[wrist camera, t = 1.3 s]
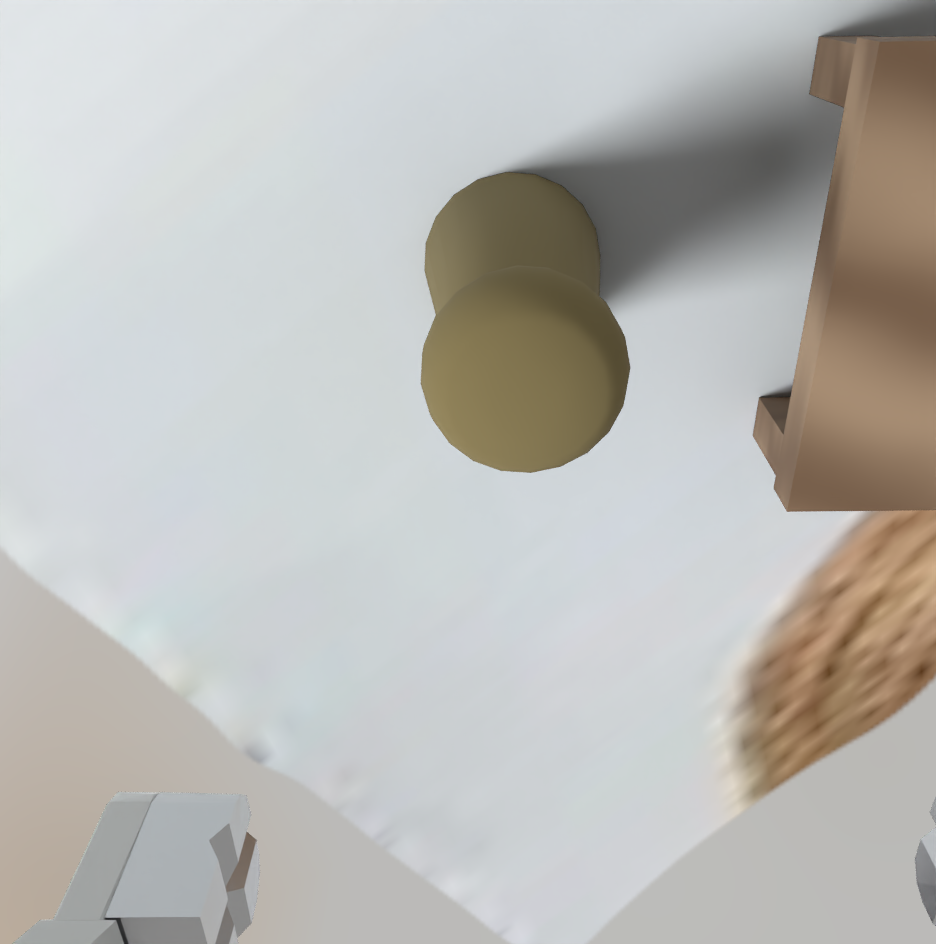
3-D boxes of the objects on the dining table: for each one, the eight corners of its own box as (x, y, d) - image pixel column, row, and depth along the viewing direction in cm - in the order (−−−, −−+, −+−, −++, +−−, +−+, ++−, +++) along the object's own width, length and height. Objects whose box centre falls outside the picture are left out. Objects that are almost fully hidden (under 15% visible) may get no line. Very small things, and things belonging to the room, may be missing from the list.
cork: (599, 163, 28) (661, 264, 19) (601, 339, 31) (655, 502, 22) (414, 180, 28) (382, 287, 19) (434, 351, 31) (414, 518, 22)
